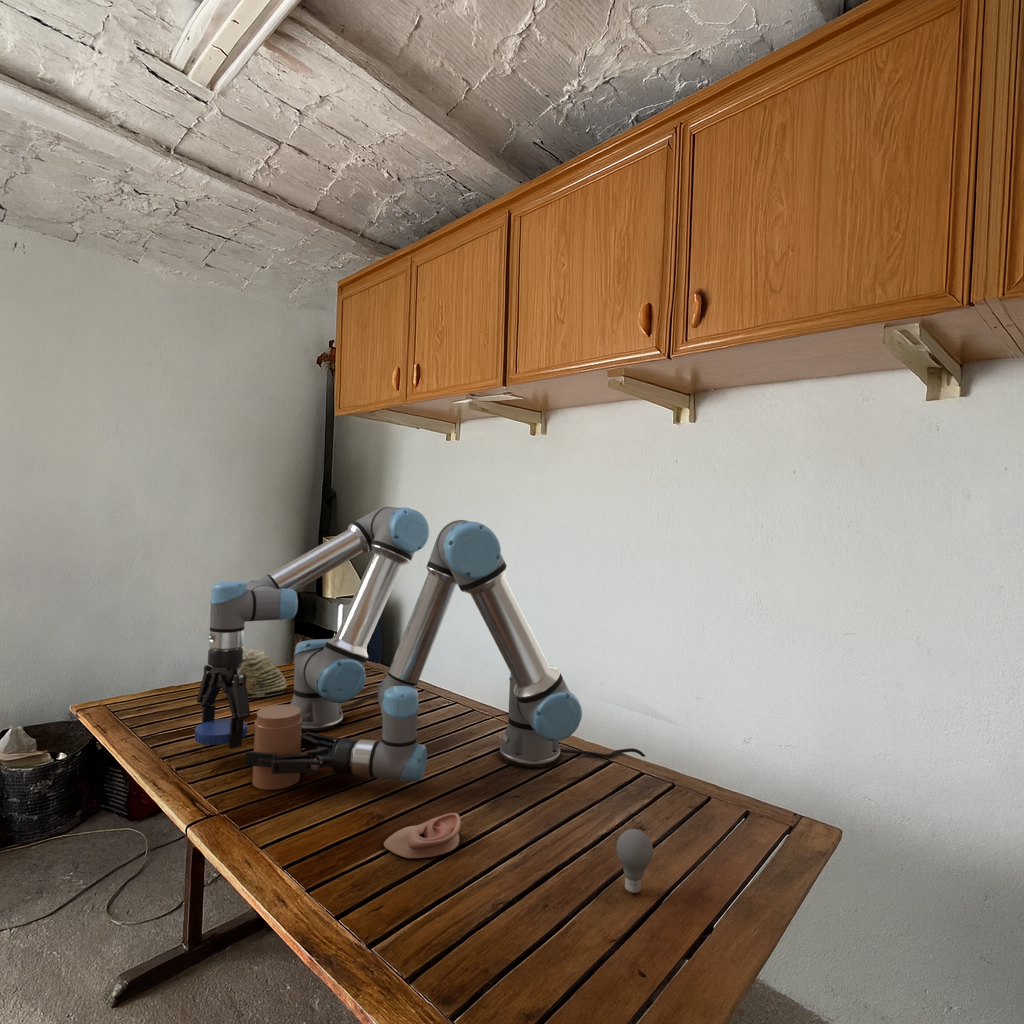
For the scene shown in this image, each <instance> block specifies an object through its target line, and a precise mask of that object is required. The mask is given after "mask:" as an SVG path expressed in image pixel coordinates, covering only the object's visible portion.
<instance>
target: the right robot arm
mask: <svg viewBox="0 0 1024 1024" xmlns="http://www.w3.org/2000/svg"><path fill="white" fill-rule="evenodd" d="M425 567H426V570H427V575H426V578H425V580H424V583H423V585H422V588H421V590H420V593H419V595H418V597H417V600H416V603H415V604H414V607H413V610H412V612H411V613H410V617H409V620H408V622H407V625H406V627H405V629H404V631H403V634H402V638H401V639H400V642H399V644H398V646H397V649H396V651H395V653H394V657H393V658H392V661H391V663H390V666H389V668H388V672H387V674H386V676H385V678H384V679H383V680H382V681H381V682H380V684H379V686H378V688H377V695H378V697H377V702H378V704H379V708H380V713H381V721H382V723H381V725H382V726H381V727H382V729H381V731H382V732H381V740H376V739H375V740H373V739H361V738H360V739H359V740H358V739H357V738H347V737H333V736H329V735H324V734H320V733H316V732H305V734H302V739H301V750H307V751H306V752H301V753H300V754H291V755H283V756H277V753H274V754H272V753H261V752H253V751H250V750H249V751H248V750H247V751H246V752H245V764H244V765H245V766H249V767H250V766H252V767H253V766H260V767H270V768H272V773H273V774H282V773H300V774H314V775H316V774H317V775H318V774H320V773H321V769H322V768H329V767H330V768H332V770H333V772H334V773H333V774H335V775H337V776H338V775H339V776H349V777H350V776H352V775H353V776H354V777H361V778H362V777H363V778H365V779H366V780H367V779H368V780H369V779H370V778H371V779H372V778H373V779H383V780H392V781H399V782H419V781H421V780H422V779H423V777H424V775H425V772H426V768H427V761H428V753H427V752H428V749H427V746H425V745H424V744H420V743H418V737H417V735H418V733H417V732H418V719H419V718H418V717H419V716H418V715H419V708H420V704H419V692H418V690H417V686H418V684H419V681H420V678H421V675H422V673H423V671H424V668H425V665H426V664H427V661H428V659H429V656H430V653H431V651H432V649H433V646H434V644H435V641H436V639H437V636H438V634H439V631H440V629H441V626H442V625H443V623H444V622H443V621H444V619H445V616H446V614H447V611H448V609H449V607H450V604H451V602H452V599H453V597H454V594H455V592H456V590H457V588H459V590H460V591H461V592H462V593H466V594H469V595H470V596H471V598H472V599H473V602H474V604H475V606H476V608H477V610H478V611H479V614H480V616H481V618H482V619H483V621H484V623H485V626H486V627H487V629H488V631H489V633H490V635H491V637H492V639H493V641H494V643H495V645H496V647H497V649H498V651H499V653H500V655H501V657H502V659H503V660H504V663H505V664H506V666H507V668H508V670H509V672H510V673H509V674H510V675H509V677H508V678H509V679H508V681H509V689H508V715H507V716H508V718H507V726H506V728H505V731H504V732H503V734H502V737H501V738H502V739H501V742H500V745H499V757H500V759H501V760H503V761H504V762H505V763H507V764H509V765H512V766H515V767H520V768H527V769H540V768H547V767H551V766H553V765H555V764H557V763H558V762H559V761H560V759H561V753H564V754H575V755H576V754H577V755H586V756H587V755H588V756H596V757H600V758H612V757H614V756H615V755H618V754H624V753H636V754H638V755H640V757H643V758H644V757H645V758H646V754H645V753H644V752H643V751H642V750H640V749H638V748H633V747H632V748H631V747H630V748H622V749H616V750H613V751H611V752H609V753H600V752H597V751H589V750H581V749H580V750H579V749H567V748H560V745H559V744H560V743H559V742H560V741H564V740H566V739H568V738H570V737H571V736H572V735H573V734H575V732H576V731H577V729H578V728H579V726H580V723H581V721H582V716H583V709H582V704H581V703H580V701H579V699H578V697H577V696H576V695H575V694H574V693H572V692H571V691H570V689H569V687H568V686H567V683H566V681H565V680H564V677H563V676H562V673H561V671H560V670H559V668H557V667H556V666H554V665H552V664H549V662H548V661H547V658H546V656H545V654H544V652H543V651H542V648H541V646H540V644H539V642H538V640H537V637H536V636H535V634H534V632H533V630H532V628H531V626H530V625H529V622H528V620H527V619H526V616H525V614H524V612H523V611H522V608H521V606H520V604H519V601H518V600H517V599H516V596H515V594H514V592H513V591H512V588H511V586H510V585H509V582H508V580H507V578H506V572H507V570H508V565H507V564H506V561H505V559H504V557H503V555H502V548H501V544H500V540H499V538H498V537H497V535H496V534H495V532H494V531H493V530H492V529H491V528H489V527H488V526H487V525H485V524H483V523H480V522H478V521H471V520H470V521H469V520H465V519H457V520H454V521H450V522H449V523H447V524H446V525H444V526H443V527H442V528H441V530H440V531H439V533H438V534H437V537H436V539H435V543H434V545H433V548H432V550H431V553H430V556H429V558H428V562H427V564H426V566H425Z"/></svg>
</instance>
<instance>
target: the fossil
mask: <svg viewBox="0 0 1024 1024" xmlns="http://www.w3.org/2000/svg"><path fill="white" fill-rule="evenodd" d="M241 648H242V649H243V661H242V663H241V664H240V665H239V666H238V667H237V670H238V674H240V675H241V674H246V688H247V695H248V699H250V698H264V697H271V696H275V695H281V694H284V693H285V691H286V689H287V687H288V686H287V680H286V678H285V676H284V674H283V673H282V672H281V669H279V668H278V667H277V665H276V663H275V662H274V660H273V659H272V658H271V657H270V656H269V655H268V654H267V653H266V652H265V650H264V649H263V648H260V647H258V648H251V647H247V646H246V647H245V646H242V647H241ZM232 687H233V686H232Z"/></svg>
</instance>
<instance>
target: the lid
mask: <svg viewBox="0 0 1024 1024" xmlns="http://www.w3.org/2000/svg"><path fill="white" fill-rule="evenodd" d="M231 719H232V718H216V719H215V720H211V721H207V722H204V723H202V722H201V723H199V724H198V725H197V726H195V728H194V741H195V742H196V743H198V744H202V745H207V746H220V745H221V746H222V745H227V744H228V745H229V739H230V720H231ZM247 735H248V723H247V722H246V721H245V720H244V722H243V733H242V740H243V739H245V737H246V736H247Z"/></svg>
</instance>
